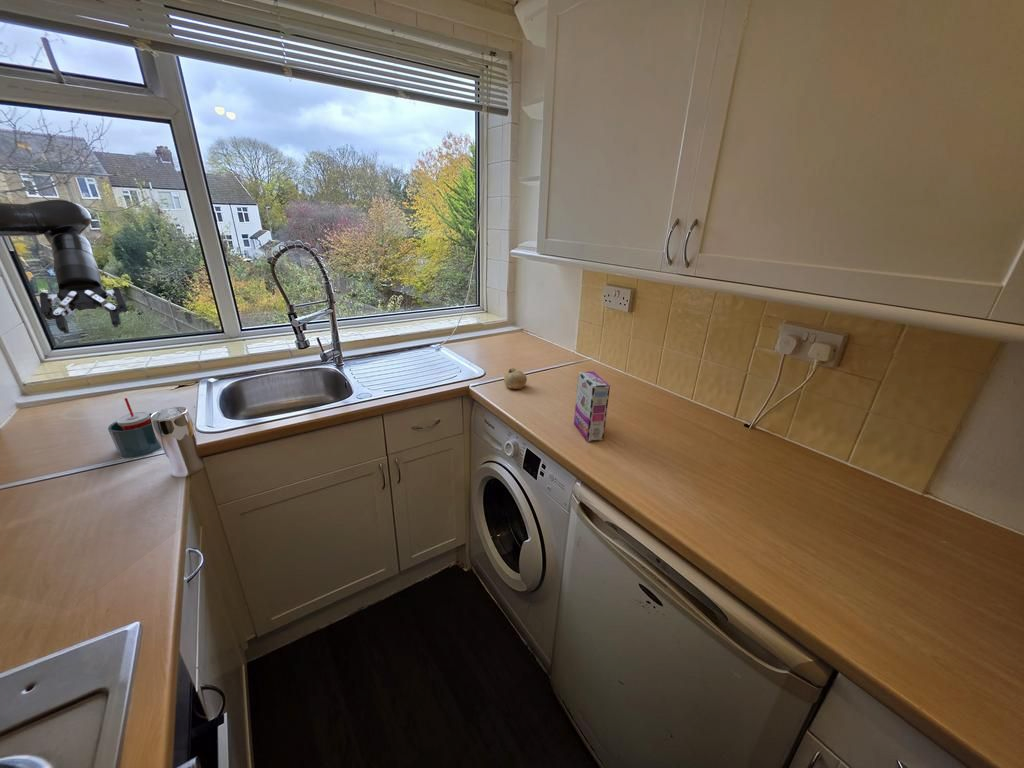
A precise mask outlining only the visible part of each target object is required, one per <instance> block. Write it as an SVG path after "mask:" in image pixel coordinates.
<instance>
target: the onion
mask: <svg viewBox="0 0 1024 768" xmlns="http://www.w3.org/2000/svg"><path fill="white" fill-rule="evenodd" d="M503 382H504V385H505V386H506V387H507V388H509V389H513V390H522V388H523V387H525V385H526V384H527V382H528V378H527V376H526V374H525V373H524V372H523V371H522V370H519V369H516V368H514V367H512V368H509V369H508V370H507V372H506V373H505V375H504V377H503Z"/></svg>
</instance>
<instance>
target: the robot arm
mask: <svg viewBox="0 0 1024 768" xmlns="http://www.w3.org/2000/svg"><path fill="white" fill-rule="evenodd" d="M92 219H93V218H92V214H91V213H90V212H89V210H88V209H86V208H85V207H84V206H82V205H81V204H79V203H77V202H74V201H71V200H67V199H47V200H40V201H33V202H29V203H11V202H0V237H35V236H36V237H37V236H42V235H43V236H44V237H45V239H46V241H47V242H48V244H50V247H51V252H52V256H53V271H54V274H55V277H56V282H57V288H58V291H57V293H53V294H48V293H47V292H45V291H44V292H43V291H42V292H40V293H39V305H40V313H41V314H42V315H43V316H44V318H45V319H46V320H48V321H51V320H54V321H55V325H56V328H57V329H58V330H59V331H60V332H63V334H70V330H69V324H68V321H67V318H68V316H70V315H73V313H75V312H76V310H77V311H85V310H97V308H100V309H102V310H103V311H105V312H108V313H109V317H110V321H111V324H112V326H113V328H114V329H115V328H119V326H120V325H121V324H122V321H121V317H120V314H122V313H127V312H129V309H128V306H127V303H126V301H125V297H124V295H123V292H122V291H121V288H120V287H118V286H114V287H112V289H104V286H103V282H102V277H101V273H100V270H99V266H98V263H97V261H96V259H95V255H94V251H93V246H92V244H91V243H90V241H89V240H88V239H87V238H86V237H85V236H83V235H82V233H83V232H84V231H85V230H86V229H87V228H88V227H89V226H90V225H91V223H92ZM108 297H111V298H112V299H115V300H116V302H117V304H116V305H114V304H112V303H110V302H109V301H108V300H107V299H108ZM57 301H60V302H59V304H58V306H57V308H56V309H55V310H54V308H53V305H55V304H56V302H57Z"/></svg>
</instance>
